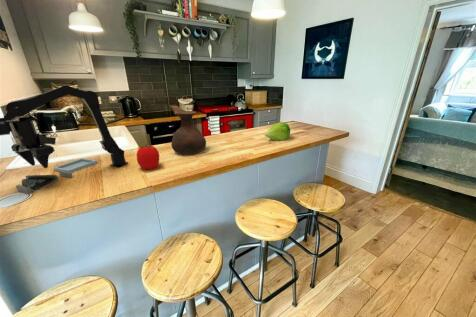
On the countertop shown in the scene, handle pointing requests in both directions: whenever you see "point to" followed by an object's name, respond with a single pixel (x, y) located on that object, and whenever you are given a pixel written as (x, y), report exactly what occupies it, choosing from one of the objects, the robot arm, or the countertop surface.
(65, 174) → the bay rails
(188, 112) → the dark brown vase
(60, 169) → the tray
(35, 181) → the dark piece
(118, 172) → the countertop surface
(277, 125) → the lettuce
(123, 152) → the robot arm
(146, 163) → the red apple
